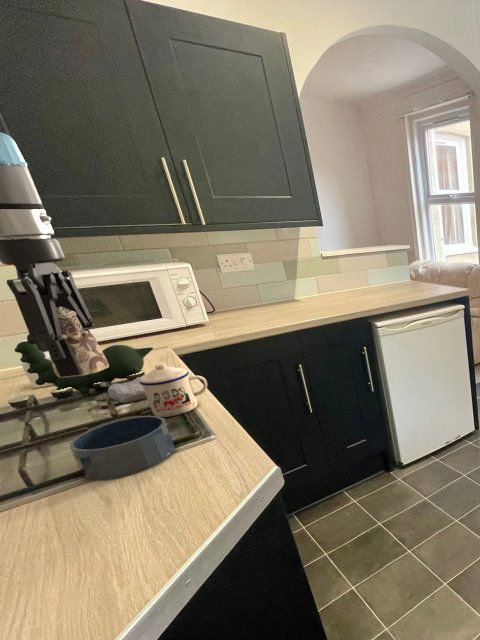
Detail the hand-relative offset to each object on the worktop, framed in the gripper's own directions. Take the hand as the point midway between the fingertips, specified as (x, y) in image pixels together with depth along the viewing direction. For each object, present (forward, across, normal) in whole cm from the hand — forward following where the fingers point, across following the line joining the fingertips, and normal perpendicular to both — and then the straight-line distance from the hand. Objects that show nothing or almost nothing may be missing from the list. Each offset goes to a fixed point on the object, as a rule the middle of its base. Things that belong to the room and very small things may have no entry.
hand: (82, 368), depth 78 cm
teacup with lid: (+18, +18, -7) cm, 26 cm away
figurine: (+1, 0, 0) cm, 1 cm away
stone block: (+17, +33, +6) cm, 38 cm away
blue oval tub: (+17, -6, -4) cm, 19 cm away
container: (+17, +57, +34) cm, 69 cm away
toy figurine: (+17, +45, +18) cm, 51 cm away
